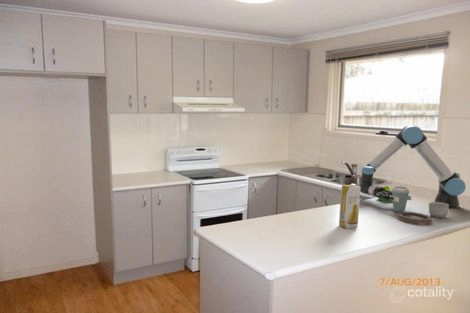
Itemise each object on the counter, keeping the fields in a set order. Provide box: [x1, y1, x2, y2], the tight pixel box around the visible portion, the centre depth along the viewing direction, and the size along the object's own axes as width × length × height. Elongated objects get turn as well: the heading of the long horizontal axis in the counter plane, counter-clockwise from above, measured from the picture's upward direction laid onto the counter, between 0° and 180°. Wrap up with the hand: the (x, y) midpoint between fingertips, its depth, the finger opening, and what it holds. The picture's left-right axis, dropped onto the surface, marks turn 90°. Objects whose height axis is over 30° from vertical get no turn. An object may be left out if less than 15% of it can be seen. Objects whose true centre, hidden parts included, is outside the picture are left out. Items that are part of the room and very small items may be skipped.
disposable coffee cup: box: [390, 185, 410, 213], centre depth 238 cm, size 11×11×15 cm
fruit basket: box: [377, 185, 393, 203], centre depth 266 cm, size 11×9×11 cm
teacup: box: [428, 201, 450, 219], centre depth 231 cm, size 14×11×8 cm
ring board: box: [396, 211, 433, 226], centre depth 220 cm, size 19×19×2 cm
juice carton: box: [338, 183, 361, 230], centre depth 202 cm, size 9×8×24 cm
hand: (404, 199), depth 234 cm, fingers closed on disposable coffee cup, 11 cm apart
